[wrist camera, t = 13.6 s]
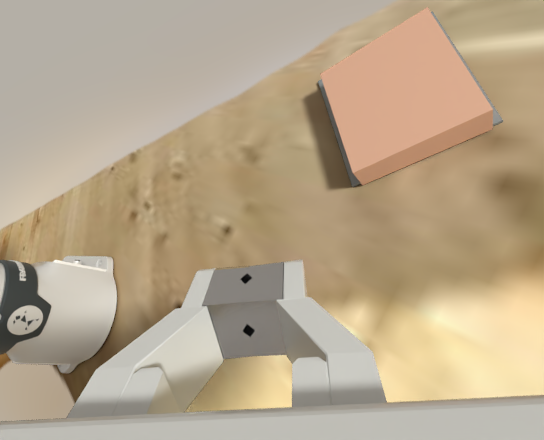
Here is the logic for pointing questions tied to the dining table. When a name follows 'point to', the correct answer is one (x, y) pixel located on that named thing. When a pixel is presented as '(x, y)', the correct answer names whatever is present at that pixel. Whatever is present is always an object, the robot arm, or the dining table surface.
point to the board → (404, 99)
